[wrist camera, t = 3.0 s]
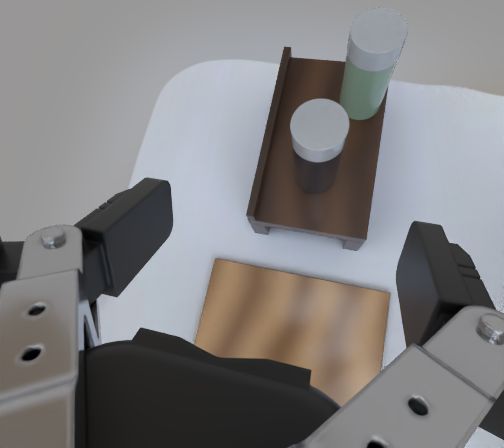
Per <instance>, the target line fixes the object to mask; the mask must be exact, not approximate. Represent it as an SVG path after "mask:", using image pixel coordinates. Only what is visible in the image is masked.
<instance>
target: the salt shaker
mask: <svg viewBox="0 0 504 448" xmlns="http://www.w3.org/2000/svg"><path fill="white" fill-rule="evenodd" d="M407 34H408V26H407V23H406V20H405V19H404V18H403V16H402V15H401V14H399V13H398V12H396V11H394V10H392V9H388V8H372V9H369V10H366V11H364V12H362V13H361V14H360V15H358V16H357V17H356V18H355V20H354V21H353V23H352V25H351V29H350V35H349V41H348V47H347V56H346V62H345V68H344V74H343V80H342V86H341V92H340V98H339V105H341V106H342V107H343V108H344V110H345V111H346V113H347V115H348V117H349V118H351V119H354V120H365V119H368V118H370V117H372V116H374V115H375V114H376V113H377V112H378V110H379V109H380V106H381V103H382V101H383V98H384V95H385V92H386V90H387V87H388V84H389V82H390V79H391V76H392V73H393V71H394V68H395V65H396V63H397V60H398V58H399V56H400V53H401V51H402V48H403V45H404V43H405V40H406V37H407Z"/></svg>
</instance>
